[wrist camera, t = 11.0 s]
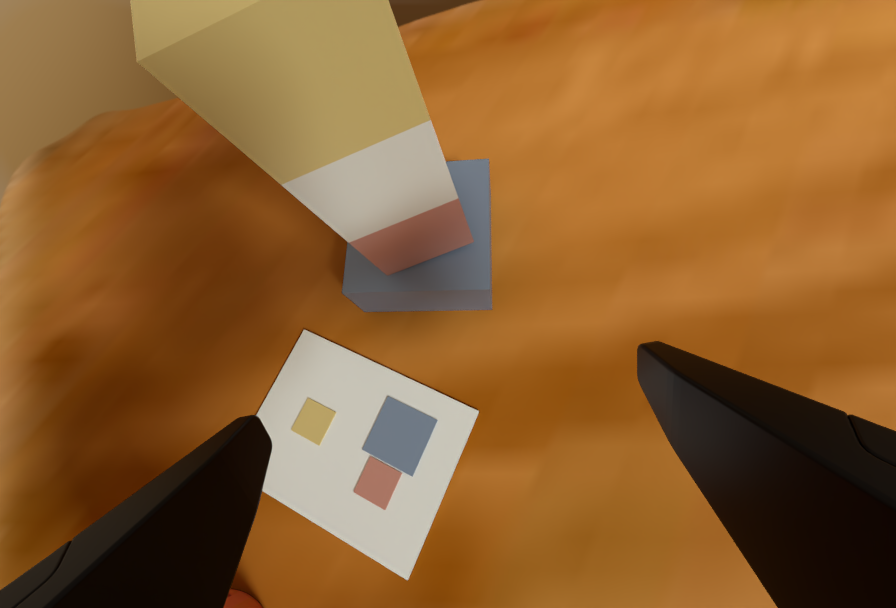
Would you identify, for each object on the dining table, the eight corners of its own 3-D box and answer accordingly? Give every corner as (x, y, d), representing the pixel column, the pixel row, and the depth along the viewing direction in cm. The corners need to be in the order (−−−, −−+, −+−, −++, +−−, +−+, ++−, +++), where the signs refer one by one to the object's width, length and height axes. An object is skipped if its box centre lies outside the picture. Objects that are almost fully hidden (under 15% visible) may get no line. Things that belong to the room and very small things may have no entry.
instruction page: (479, 411, 22) (479, 411, 21) (408, 578, 20) (407, 581, 19) (305, 329, 25) (303, 328, 24) (228, 468, 23) (225, 468, 22)
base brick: (492, 311, 24) (490, 289, 20) (366, 313, 25) (341, 292, 21) (490, 197, 26) (488, 158, 22) (376, 204, 27) (355, 167, 23)
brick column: (474, 242, 20) (368, -55, 7) (387, 275, 21) (136, 61, 8) (445, 165, 22) (312, -203, 8) (364, 199, 22) (120, -96, 9)
